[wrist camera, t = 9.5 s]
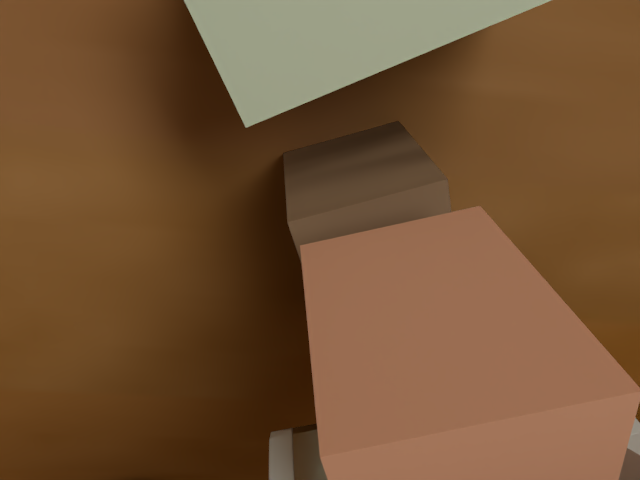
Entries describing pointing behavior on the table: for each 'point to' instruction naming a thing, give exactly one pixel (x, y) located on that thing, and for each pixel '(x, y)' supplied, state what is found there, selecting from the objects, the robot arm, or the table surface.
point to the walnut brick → (361, 184)
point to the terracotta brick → (455, 361)
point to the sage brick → (327, 42)
